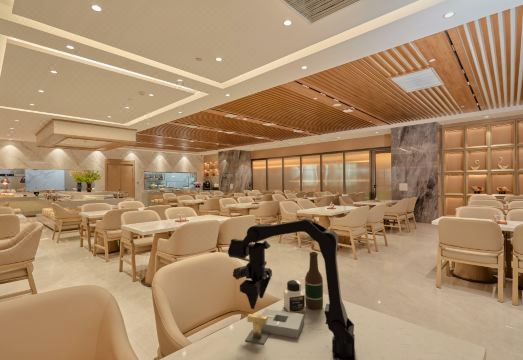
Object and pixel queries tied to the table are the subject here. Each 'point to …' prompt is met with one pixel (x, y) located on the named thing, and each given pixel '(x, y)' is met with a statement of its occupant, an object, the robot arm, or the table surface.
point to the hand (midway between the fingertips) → (257, 303)
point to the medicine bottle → (294, 297)
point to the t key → (257, 324)
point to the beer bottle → (313, 285)
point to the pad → (259, 341)
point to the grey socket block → (283, 323)
